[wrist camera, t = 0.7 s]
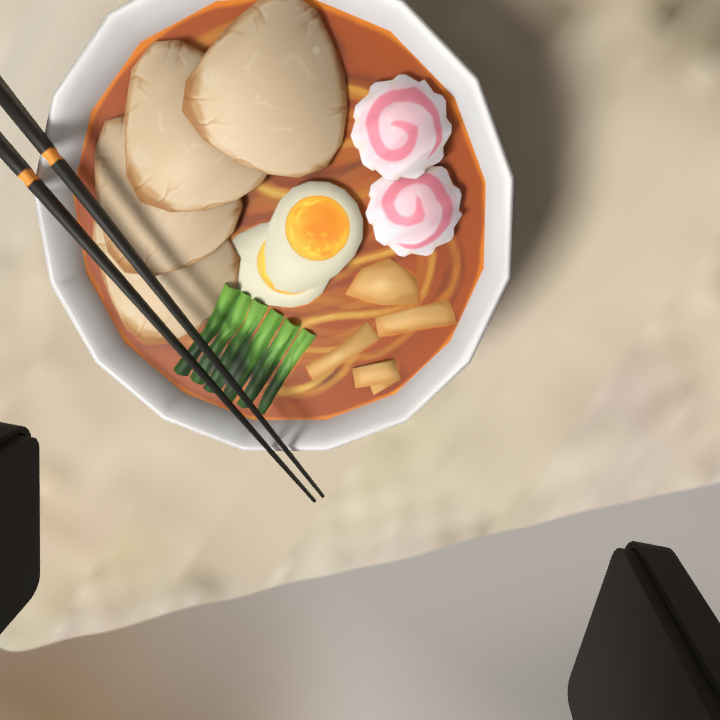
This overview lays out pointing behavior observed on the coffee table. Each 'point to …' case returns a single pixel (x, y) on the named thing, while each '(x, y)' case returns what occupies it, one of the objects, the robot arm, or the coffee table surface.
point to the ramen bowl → (272, 214)
